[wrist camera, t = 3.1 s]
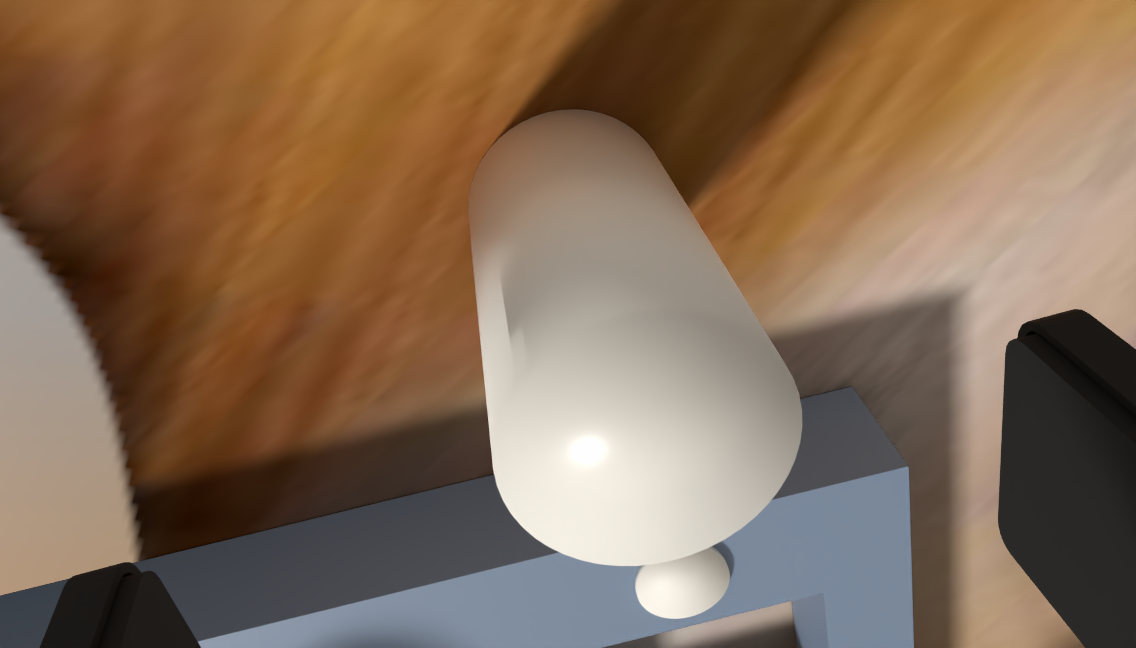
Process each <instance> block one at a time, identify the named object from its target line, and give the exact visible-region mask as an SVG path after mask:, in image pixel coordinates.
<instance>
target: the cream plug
mask: <svg viewBox="0 0 1136 648" xmlns="http://www.w3.org/2000/svg"><path fill="white" fill-rule="evenodd" d="M468 217H469V228H470V238H471V249H472V259H473V269H474V279H475V289H476V300H477V310H478V320H479V330H480V340H481V351H482V361H483V371H484V381H485V391H486V402H487V412H488V422H489V432H490V442H491V453H492V463H493V471H494V475H495V480H496V484H497V487H498V490H499V492H500V495H501V497H502V499H503V501H504V503H505V505H506V506H507V508H508V510H509V511H510V513H511V514H512V516H513V517H514V518H515V519H516V520H517V522H518V523H519V524H520V525H521V526H522V527H523V528H524V529H525V530H526V531H527V532H528V533H530V534H531V535H532V536H533V537H534V538H536V539H537V540H539V541H540V542H542V543H543V544H545V545H546V546H548V547H550V548H552V549H554V550H556V551H558V552H560V553H562V554H564V555H567V556H570V557H573V558H576V559H579V560H582V561H587V562H591V563H596V564H602V565H612V566H641V565H651V564H658V563H663V562H668V561H673V560H676V559H679V558H683V557H686V556H690V555H692V554H695V553H697V552H700V551H702V550H705V549H707V548H709V547H711V546H713V545H715V544H717V543H719V542H721V541H723V540H725V539H726V538H728V537H729V536H731V535H732V534H734V533H735V532H737V531H738V530H740V529H741V528H743V527H744V526H745V525H746V524H747V523H749V522H750V521H751V520H752V519H754V518H755V517H756V516H757V515H758V514H759V513H760V512H761V511H762V510H763V509H764V508H765V507H766V506H767V505H768V504H769V502H770V501H771V500H772V499H773V497H774V496H775V495H776V494H777V492H778V491H779V490H780V488H781V486H782V485H783V483H784V481H785V480H786V478H787V477H788V475H789V473H790V470H791V468H792V466H793V464H794V461H795V459H796V456H797V452H798V449H799V445H800V440H801V433H802V407H801V402H800V396H799V392H798V389H797V387H796V384H795V381H794V378H793V377H792V375H791V373H790V371H789V369H788V368H787V366H786V364H785V363H784V361H783V359H782V358H781V356H780V354H779V353H778V351H777V350H776V348H775V346H774V345H773V343H772V342H771V340H770V338H769V337H768V335H767V333H766V332H765V330H764V329H763V327H762V325H761V324H760V322H759V321H758V319H757V317H756V316H755V314H754V312H753V311H752V309H751V308H750V306H749V304H748V303H747V301H746V300H745V298H744V296H743V295H742V293H741V292H740V290H739V288H738V287H737V285H736V283H735V282H734V280H733V279H732V277H731V275H730V274H729V272H728V271H727V269H726V267H725V266H724V264H723V262H722V261H721V259H720V258H719V256H718V254H717V253H716V251H715V250H714V248H713V246H712V245H711V243H710V242H709V240H708V238H707V237H706V235H705V233H704V232H703V230H702V229H701V227H700V225H699V224H698V222H697V221H696V219H695V217H694V216H693V214H692V212H691V211H690V209H689V208H688V206H687V204H686V203H685V201H684V200H683V198H682V196H681V195H680V193H679V191H678V190H677V188H676V187H675V185H674V183H673V182H672V180H671V179H670V177H669V175H668V174H667V172H666V171H665V169H664V167H663V166H662V164H661V162H660V161H659V159H658V158H657V156H656V154H655V153H654V151H653V150H652V148H651V147H650V146H649V145H648V143H647V142H646V141H645V140H644V139H643V138H642V137H641V136H640V135H639V134H638V133H637V132H636V131H635V130H633V129H632V128H631V127H629V126H628V125H626V124H625V123H623V122H621V121H619V120H617V119H615V118H613V117H611V116H608V115H605V114H602V113H598V112H594V111H589V110H579V109H567V110H557V111H551V112H547V113H543V114H540V115H537V116H534V117H532V118H529V119H527V120H525V121H523V122H521V123H519V124H518V125H516V126H515V127H513V128H511V129H510V130H509V131H507V132H506V133H505V134H504V135H502V136H501V137H500V138H499V139H498V140H497V141H496V142H495V143H494V144H493V145H492V146H491V147H490V149H489V150H488V151H487V153H486V154H485V156H484V157H483V158H482V160H481V162H480V164H479V166H478V168H477V170H476V172H475V175H474V177H473V180H472V183H471V187H470V192H469V200H468Z"/></svg>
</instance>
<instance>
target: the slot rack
mask: <svg viewBox="0 0 1136 648" xmlns="http://www.w3.org/2000/svg"><path fill="white" fill-rule="evenodd" d="M800 402H801V407H802V433H801V440H800V445H799V449H798V452H797V456H796V459H795V461H794V464H793V466H792V468H791V470H790V473H789V475H788V477H787V478H786V480H785V481H784V483H783V485H782V486H781V488H780V490H779V491H778V492H777V494H776V495H775V496H774V497H773V499H772V500H771V501H770V502H769V504H768V505H767V506H766V507H765V508H764V509H763V510H762V511H761V512H760V513H759V514H758V515H757V516H756V517H755V518H754V519H752V520H751V521H750V522H749V523H747V524H746V525H745V526H744V527H743V528H741V529H740V530H738V531H737V532H735V533H734V534H732V535H731V536H729V537H728V538H726V539H725V540H723V541H721V542H719V543H717V544H715V545H713V546H711V547H709V548H707V549H705V550H702V551H700V552H697V553H695V554H692V555H690V556H686V557H683V558H679V559H676V560H673V561H668V562H663V563H658V564H651V565H641V566H612V565H602V564H596V563H591V562H587V561H582V560H579V559H576V558H573V557H570V556H567V555H564V554H562V553H560V552H558V551H556V550H554V549H552V548H550V547H548V546H546V545H545V544H543V543H542V542H540V541H539V540H537V539H536V538H534V537H533V536H532V535H531V534H530V533H528V532H527V531H526V530H525V529H524V528H523V527H522V526H521V525H520V524H519V523H518V522H517V520H516V519H515V518H514V517H513V516H512V514H511V513H510V511H509V510H508V508H507V506H506V505H505V503H504V501H503V499H502V497H501V495H500V492H499V490H498V487H497V484H496V480H495V475H490V476H486V477H482V478H477V479H473V480H469V481H465V482H461V483H457V484H453V485H449V486H445V487H441V488H437V489H433V490H429V491H425V492H420V493H416V494H412V495H408V496H404V497H400V498H396V499H392V500H388V501H384V502H380V503H376V504H372V505H368V506H363V507H359V508H355V509H351V510H347V511H343V512H339V513H335V514H331V515H327V516H323V517H319V518H315V519H311V520H306V521H302V522H298V523H294V524H290V525H286V526H282V527H278V528H274V529H270V530H266V531H262V532H258V533H254V534H249V535H245V536H241V537H237V538H233V539H229V540H225V541H221V542H217V543H213V544H209V545H205V546H201V547H197V548H192V549H188V550H184V551H180V552H176V553H172V554H168V555H164V556H160V557H156V558H152V559H148V560H144V561H140V562H135V563H132V564H134V565H135V566H137V568H138V569H139V570H140V571H141V572H145V571H153V572H154V573H156V574H157V575H158V577H159V578H160V579H161V581H162V583H163V585H164V586H165V588H166V590H167V591H168V593H169V595H170V596H171V598H172V600H173V601H174V603H175V605H176V606H177V608H178V610H179V611H180V613H181V615H182V616H183V618H184V620H185V621H186V623H187V625H188V626H189V628H190V630H191V631H192V633H193V635H194V636H195V638H196V640H197V641H198V643H199V645H200V646H201V648H603V647H607V646H611V645H615V644H619V643H623V642H627V641H631V640H635V639H639V638H643V637H647V636H652V635H656V634H660V633H664V632H668V631H672V630H676V629H680V628H684V627H688V626H692V625H696V624H700V623H704V622H708V621H712V620H716V619H720V618H724V617H728V616H732V615H736V614H740V613H744V612H748V611H752V610H756V609H760V608H765V607H769V606H773V605H777V604H781V603H785V602H789V601H792V610H793V618H794V627H795V635H796V643H797V648H914V634H913V599H912V564H911V529H910V494H909V466H908V465H907V463H906V462H905V460H904V459H903V457H902V456H901V455H900V453H899V452H898V450H897V449H896V448H895V446H894V445H893V443H892V442H891V441H890V439H889V438H888V436H887V435H886V433H885V432H884V431H883V429H882V428H881V426H880V425H879V424H878V422H877V421H876V419H875V418H874V416H873V415H872V414H871V412H870V411H869V409H868V408H867V407H866V405H865V404H864V402H863V401H862V400H861V398H860V397H859V395H858V394H857V392H856V391H855V390H854V388H853V387H848V388H844V389H840V390H836V391H832V392H828V393H824V394H820V395H815V396H811V397H807V398H803V399H800ZM68 580H69V579H66V580H62V581H58V582H54V583H50V584H46V585H42V586H38V587H34V588H30V589H25V590H21V591H17V592H13V593H9V594H5V595H1V596H0V648H40V645H41V643H42V640H43V638H44V635H45V633H46V630H47V628H48V625H49V623H50V620H51V618H52V615H53V612H54V610H55V607H56V605H57V602H58V600H59V597H60V595H61V592H62V590H63V588H64V586H65V584H66V582H67V581H68Z"/></svg>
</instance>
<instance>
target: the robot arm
mask: <svg viewBox="0 0 1136 648" xmlns="http://www.w3.org/2000/svg"><path fill="white" fill-rule="evenodd" d="M998 525H999V530H1000V534H1001V536H1002V539H1003V542H1004V544H1005V546H1006V548H1007V549H1008V551H1009V552H1010V554H1011V555H1012V556H1013V558H1014V559H1015V560H1016V561H1017V563H1018V564H1019V565H1020V566H1021V568H1022V569H1023V570H1024V571H1025V573H1026V574H1027V575H1028V576H1029V578H1030V579H1031V580H1032V581H1033V583H1034V584H1035V585H1036V586H1037V588H1038V589H1039V590H1040V591H1041V593H1042V594H1043V595H1044V596H1045V598H1046V599H1047V600H1048V601H1049V603H1050V604H1051V605H1052V606H1053V608H1054V609H1055V610H1056V611H1057V613H1058V614H1059V615H1060V616H1061V618H1062V619H1063V620H1064V621H1065V623H1066V624H1067V625H1068V626H1069V628H1070V629H1071V630H1072V631H1073V633H1074V634H1075V635H1076V636H1077V638H1078V639H1079V640H1080V641H1081V643H1082V644H1083V645H1084V646H1085V648H1136V349H1134V348H1133V347H1132V346H1131V345H1129V344H1128V343H1127V342H1125V341H1124V340H1123V339H1121V338H1120V337H1119V336H1117V335H1116V334H1115V333H1114V332H1112V331H1111V330H1110V329H1108V328H1107V327H1106V326H1104V325H1103V324H1102V323H1101V322H1099V321H1098V320H1097V319H1095V318H1094V317H1093V316H1091V315H1090V314H1088V313H1087V312H1085V311H1083V310H1078V309H1073V310H1070V311H1066V312H1062V313H1058V314H1055V315H1051V316H1047V317H1043V318H1040V319H1036V320H1032V321H1028V322H1026V323H1024V324H1023V325H1022V326H1021V328H1020V330H1019V332H1018V338H1017V339H1013V340H1011V341H1009V343H1008V345H1007V347H1006V353H1005V375H1004V397H1003V420H1002V442H1001V465H1000V487H999V510H998ZM40 648H201V646H200V645H199V643H198V641H197V640H196V638H195V636H194V635H193V633H192V631H191V630H190V628H189V626H188V625H187V623H186V621H185V620H184V618H183V616H182V615H181V613H180V611H179V610H178V608H177V606H176V605H175V603H174V601H173V600H172V598H171V596H170V595H169V593H168V591H167V590H166V588H165V586H164V585H163V583H162V581H161V579H160V578H159V577H158V575H157V574H156V573H154V572H153V571H145V572H141V571H140V570H139V569H138V568H137V566H135V565H134V564H132V563H130V562H127V563H125V562H124V563H120V564H117V565H113V566H109V567H105V568H102V569H98V570H94V571H91V572H87V573H83V574H79V575H76V576H73V577H72V578H70V579H69V580H68V581H67V582H66V584H65V586H64V588H63V590H62V592H61V595H60V597H59V600H58V602H57V605H56V607H55V610H54V612H53V615H52V618H51V620H50V623H49V625H48V628H47V630H46V633H45V635H44V638H43V640H42V643H41V645H40Z"/></svg>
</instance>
